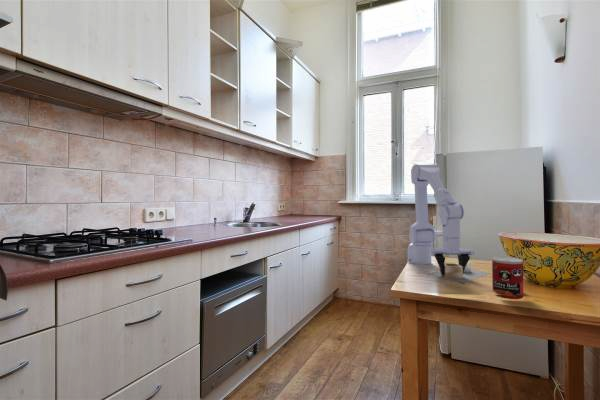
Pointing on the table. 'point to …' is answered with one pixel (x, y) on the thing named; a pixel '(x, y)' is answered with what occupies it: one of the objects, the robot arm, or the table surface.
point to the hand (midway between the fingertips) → (451, 274)
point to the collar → (453, 270)
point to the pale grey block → (468, 267)
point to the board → (466, 276)
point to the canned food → (507, 277)
